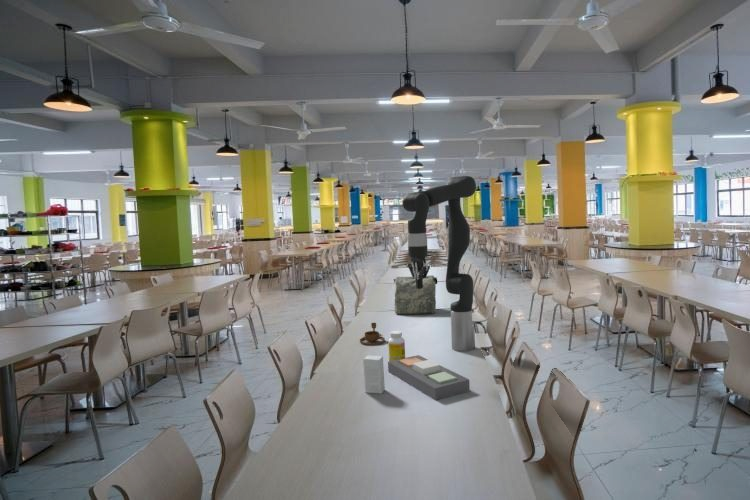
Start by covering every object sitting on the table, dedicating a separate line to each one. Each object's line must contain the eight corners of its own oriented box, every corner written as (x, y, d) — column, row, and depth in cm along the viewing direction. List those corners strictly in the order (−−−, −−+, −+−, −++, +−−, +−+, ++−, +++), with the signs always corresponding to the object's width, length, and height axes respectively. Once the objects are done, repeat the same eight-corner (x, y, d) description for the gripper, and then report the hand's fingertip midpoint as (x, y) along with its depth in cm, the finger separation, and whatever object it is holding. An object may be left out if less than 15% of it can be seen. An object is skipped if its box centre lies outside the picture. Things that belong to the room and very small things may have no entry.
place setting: (349, 344, 223) (349, 331, 222) (372, 333, 240) (371, 322, 239) (380, 348, 213) (380, 335, 213) (402, 337, 230) (401, 325, 230)
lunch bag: (438, 308, 289) (437, 273, 287) (437, 314, 271) (436, 277, 269) (396, 308, 293) (395, 274, 291) (393, 315, 275) (391, 278, 273)
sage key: (444, 379, 166) (444, 371, 165) (456, 386, 159) (456, 377, 159) (428, 384, 162) (427, 375, 162) (439, 390, 156) (439, 381, 156)
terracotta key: (414, 364, 183) (414, 356, 183) (424, 369, 177) (424, 361, 177) (399, 367, 180) (398, 360, 180) (408, 373, 174) (408, 365, 174)
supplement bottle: (404, 365, 187) (402, 334, 186) (388, 365, 188) (386, 334, 187) (406, 360, 193) (405, 330, 192) (390, 360, 195) (389, 329, 194)
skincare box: (385, 389, 164) (383, 356, 163) (381, 394, 160) (379, 360, 159) (368, 388, 166) (367, 355, 165) (364, 392, 162) (362, 358, 161)
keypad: (419, 364, 187) (418, 355, 187) (469, 390, 159) (469, 379, 159) (388, 371, 181) (387, 361, 181) (435, 400, 153) (434, 388, 152)
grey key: (428, 367, 174) (428, 359, 174) (439, 373, 168) (439, 364, 168) (412, 371, 171) (412, 363, 171) (423, 377, 165) (422, 368, 165)
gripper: (435, 244, 178) (436, 289, 180) (416, 243, 190) (418, 285, 192) (418, 246, 175) (420, 292, 177) (400, 244, 187) (402, 287, 188)
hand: (419, 288), depth 184 cm, fingers closed
